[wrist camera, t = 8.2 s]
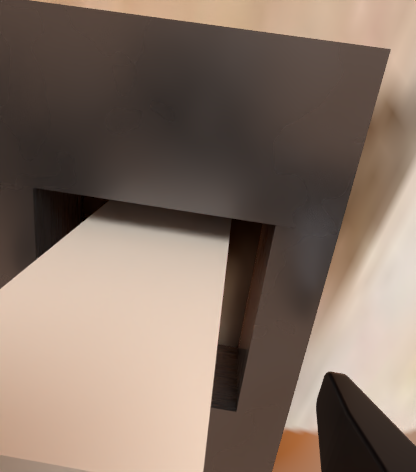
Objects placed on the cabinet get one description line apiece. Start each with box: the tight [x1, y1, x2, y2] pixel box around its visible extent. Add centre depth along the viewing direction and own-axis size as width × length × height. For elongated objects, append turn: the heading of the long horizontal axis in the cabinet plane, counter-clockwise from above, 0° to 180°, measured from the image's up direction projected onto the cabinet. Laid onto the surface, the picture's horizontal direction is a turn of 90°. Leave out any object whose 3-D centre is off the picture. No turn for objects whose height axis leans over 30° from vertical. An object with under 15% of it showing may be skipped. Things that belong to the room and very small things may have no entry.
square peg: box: [0, 200, 232, 472], centre depth 9 cm, size 4×4×9 cm
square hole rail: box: [0, 0, 391, 472], centre depth 12 cm, size 14×9×3 cm, turn 172°
